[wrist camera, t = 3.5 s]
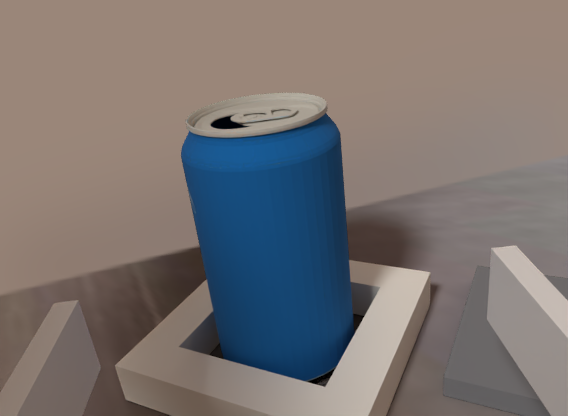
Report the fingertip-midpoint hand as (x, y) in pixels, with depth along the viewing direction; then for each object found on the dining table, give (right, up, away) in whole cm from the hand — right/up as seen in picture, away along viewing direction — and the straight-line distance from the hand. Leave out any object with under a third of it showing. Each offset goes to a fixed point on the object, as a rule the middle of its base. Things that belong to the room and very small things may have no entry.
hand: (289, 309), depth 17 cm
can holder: (0, -4, +9) cm, 10 cm away
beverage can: (0, -4, +9) cm, 10 cm away
